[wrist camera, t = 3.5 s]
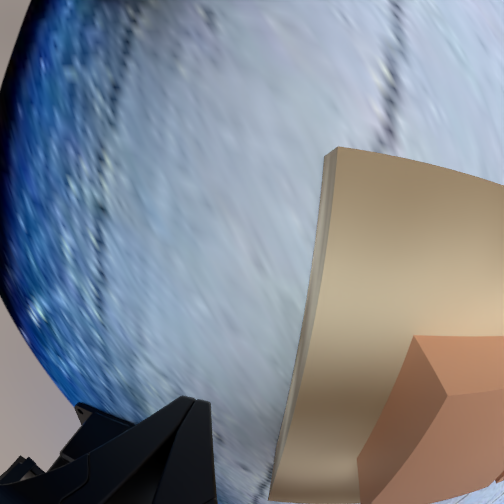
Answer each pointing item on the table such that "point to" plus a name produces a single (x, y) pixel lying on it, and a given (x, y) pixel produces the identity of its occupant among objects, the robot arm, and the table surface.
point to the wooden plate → (381, 304)
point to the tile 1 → (438, 424)
